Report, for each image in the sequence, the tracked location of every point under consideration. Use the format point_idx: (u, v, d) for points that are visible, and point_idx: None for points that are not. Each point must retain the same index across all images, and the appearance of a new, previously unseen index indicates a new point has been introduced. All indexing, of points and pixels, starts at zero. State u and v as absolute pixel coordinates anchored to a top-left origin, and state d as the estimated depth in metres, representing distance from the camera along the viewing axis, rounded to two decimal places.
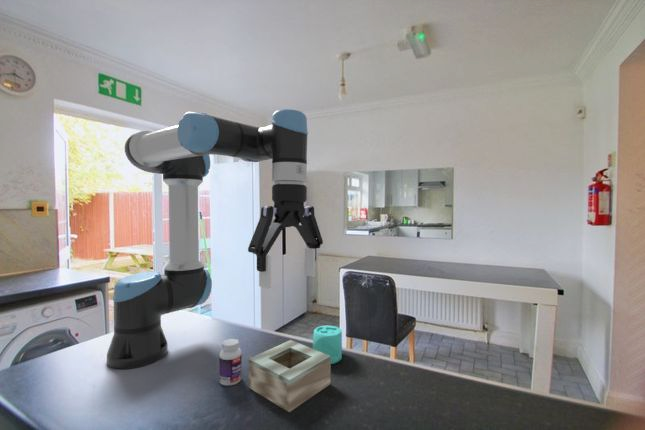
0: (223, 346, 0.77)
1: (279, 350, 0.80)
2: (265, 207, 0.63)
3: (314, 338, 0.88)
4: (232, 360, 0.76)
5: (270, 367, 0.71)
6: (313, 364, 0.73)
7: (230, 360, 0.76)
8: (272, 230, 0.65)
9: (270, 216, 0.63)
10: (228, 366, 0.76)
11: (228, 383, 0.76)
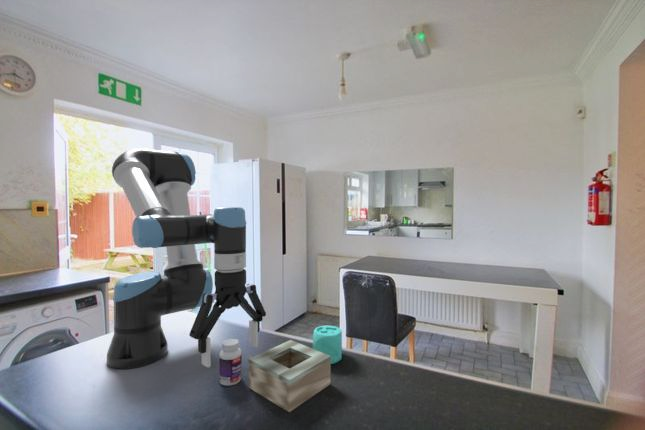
0: (223, 346, 0.77)
1: (279, 350, 0.80)
2: (205, 295, 0.73)
3: (314, 338, 0.88)
4: (232, 360, 0.76)
5: (270, 367, 0.71)
6: (313, 364, 0.73)
7: (230, 360, 0.76)
8: (213, 314, 0.74)
9: (209, 304, 0.72)
10: (228, 366, 0.76)
11: (228, 383, 0.76)
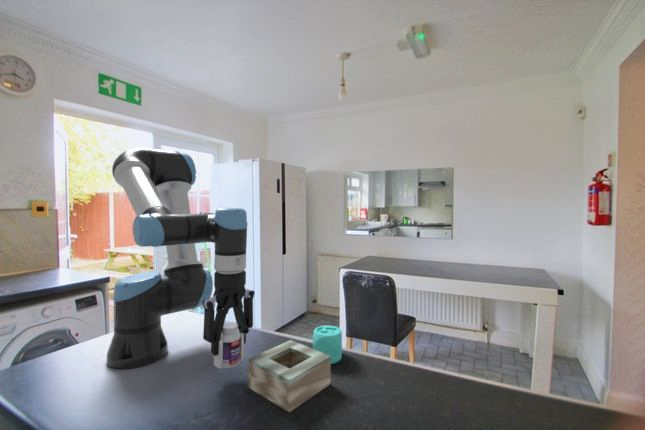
0: None
1: (279, 350, 0.80)
2: (205, 303, 0.73)
3: (314, 338, 0.88)
4: (231, 343, 0.76)
5: (270, 367, 0.71)
6: (313, 364, 0.73)
7: (229, 343, 0.76)
8: (218, 317, 0.76)
9: (212, 310, 0.73)
10: (227, 349, 0.76)
11: (226, 366, 0.76)
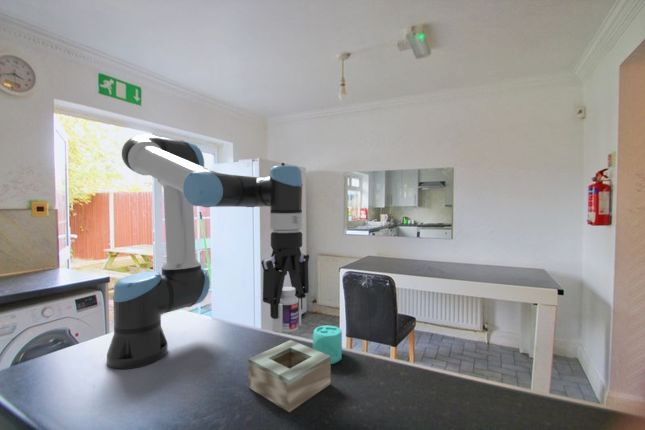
0: None
1: (279, 350, 0.80)
2: (264, 262, 0.70)
3: (314, 338, 0.88)
4: (291, 305, 0.73)
5: (270, 367, 0.71)
6: (313, 364, 0.73)
7: (289, 306, 0.73)
8: (277, 279, 0.73)
9: (272, 269, 0.70)
10: (287, 312, 0.73)
11: (287, 330, 0.73)
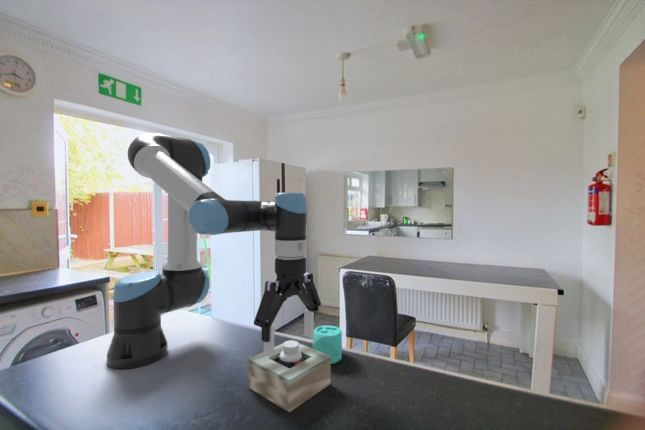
0: (284, 348, 0.75)
1: (279, 350, 0.80)
2: (269, 283, 0.70)
3: (314, 338, 0.88)
4: (295, 362, 0.74)
5: (270, 367, 0.71)
6: (313, 364, 0.73)
7: (292, 363, 0.74)
8: (275, 302, 0.72)
9: (273, 292, 0.70)
10: None
11: None
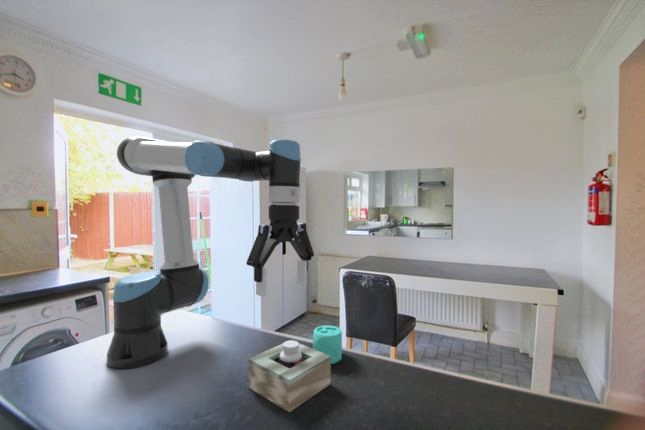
0: (284, 348, 0.75)
1: (279, 350, 0.80)
2: (262, 226, 0.72)
3: (314, 338, 0.88)
4: (295, 362, 0.74)
5: (270, 367, 0.71)
6: (313, 364, 0.73)
7: (292, 363, 0.74)
8: (268, 245, 0.74)
9: (266, 234, 0.72)
10: None
11: None
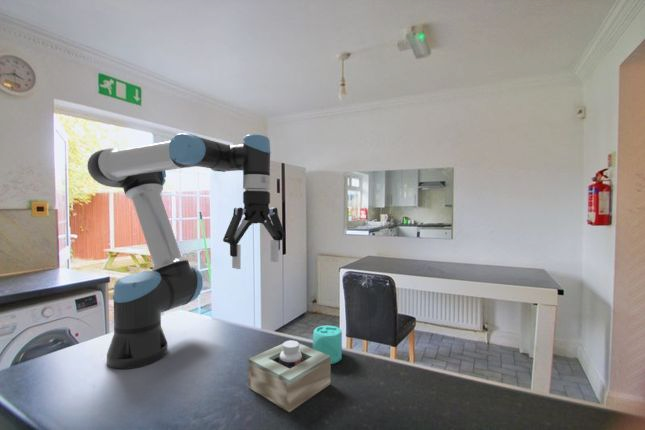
0: (284, 348, 0.75)
1: (279, 350, 0.80)
2: (236, 208, 0.84)
3: (314, 338, 0.88)
4: (295, 362, 0.74)
5: (270, 367, 0.71)
6: (313, 364, 0.73)
7: (292, 363, 0.74)
8: (242, 225, 0.86)
9: (240, 215, 0.84)
10: None
11: None
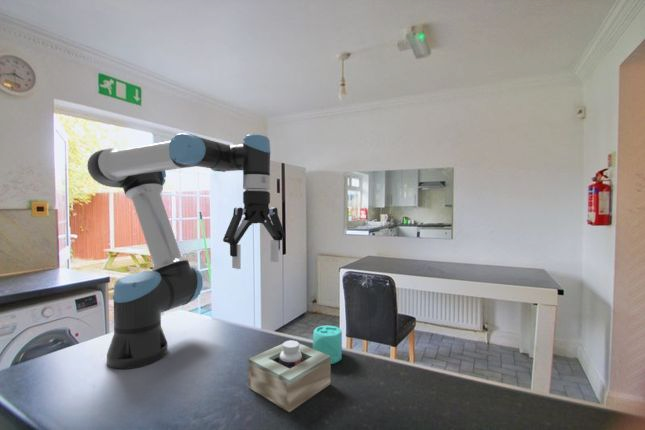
0: (284, 348, 0.75)
1: (279, 350, 0.80)
2: (236, 208, 0.84)
3: (314, 338, 0.88)
4: (295, 362, 0.74)
5: (270, 367, 0.71)
6: (313, 364, 0.73)
7: (292, 363, 0.74)
8: (242, 225, 0.86)
9: (240, 215, 0.84)
10: None
11: None
